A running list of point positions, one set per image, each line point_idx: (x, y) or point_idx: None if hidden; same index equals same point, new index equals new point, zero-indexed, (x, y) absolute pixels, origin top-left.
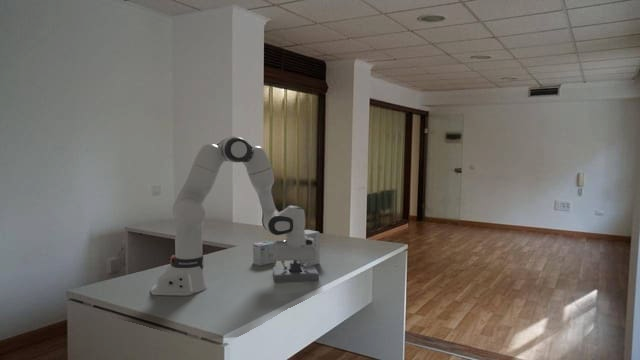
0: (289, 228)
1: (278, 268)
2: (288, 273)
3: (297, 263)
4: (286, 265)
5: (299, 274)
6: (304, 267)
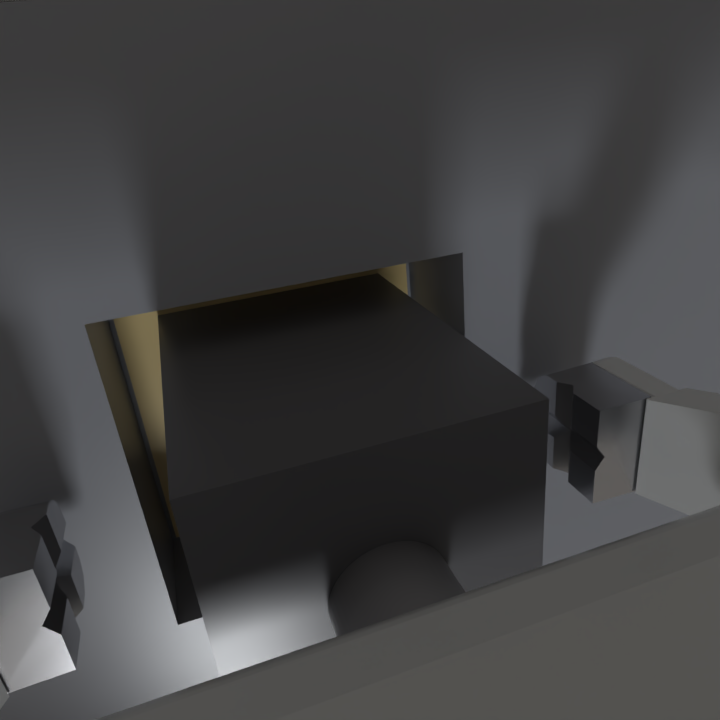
0: None
1: (642, 526)
2: (500, 169)
3: (307, 558)
4: (597, 494)
5: (164, 42)
6: (25, 532)
